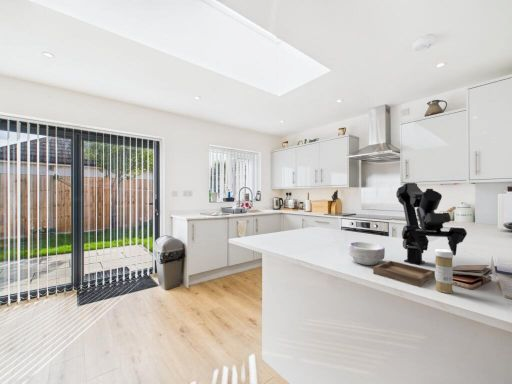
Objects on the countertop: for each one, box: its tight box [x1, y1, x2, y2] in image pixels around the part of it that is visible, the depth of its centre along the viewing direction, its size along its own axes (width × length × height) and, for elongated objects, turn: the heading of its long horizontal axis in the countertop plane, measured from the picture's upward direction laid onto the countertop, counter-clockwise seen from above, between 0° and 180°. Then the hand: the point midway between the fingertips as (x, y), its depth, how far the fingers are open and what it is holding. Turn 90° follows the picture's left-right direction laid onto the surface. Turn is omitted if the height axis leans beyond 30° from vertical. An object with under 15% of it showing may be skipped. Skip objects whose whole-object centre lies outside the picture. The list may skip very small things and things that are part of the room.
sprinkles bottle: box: [434, 248, 454, 294], centre depth 77 cm, size 5×5×14 cm
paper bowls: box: [347, 241, 386, 266], centre depth 108 cm, size 15×15×8 cm
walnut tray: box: [372, 260, 436, 288], centre depth 91 cm, size 14×16×3 cm
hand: (438, 253), depth 81 cm, fingers open, 9 cm apart
